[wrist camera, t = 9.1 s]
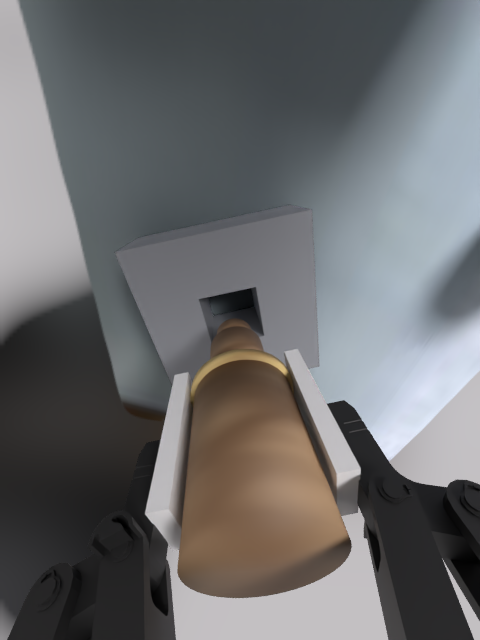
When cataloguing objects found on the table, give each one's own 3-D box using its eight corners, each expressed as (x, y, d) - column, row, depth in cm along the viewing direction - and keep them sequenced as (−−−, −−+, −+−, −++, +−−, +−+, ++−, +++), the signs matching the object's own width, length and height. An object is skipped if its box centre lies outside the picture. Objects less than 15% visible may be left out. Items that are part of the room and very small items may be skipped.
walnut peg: (264, 293, 17) (362, 495, 6) (274, 354, 20) (355, 579, 8) (188, 309, 17) (139, 541, 6) (208, 368, 20) (199, 611, 8)
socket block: (289, 204, 22) (312, 209, 17) (300, 334, 29) (319, 366, 24) (138, 237, 22) (114, 252, 17) (183, 358, 29) (176, 396, 24)
